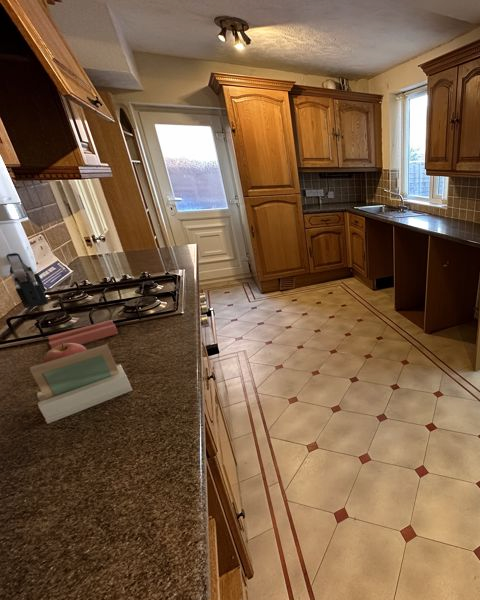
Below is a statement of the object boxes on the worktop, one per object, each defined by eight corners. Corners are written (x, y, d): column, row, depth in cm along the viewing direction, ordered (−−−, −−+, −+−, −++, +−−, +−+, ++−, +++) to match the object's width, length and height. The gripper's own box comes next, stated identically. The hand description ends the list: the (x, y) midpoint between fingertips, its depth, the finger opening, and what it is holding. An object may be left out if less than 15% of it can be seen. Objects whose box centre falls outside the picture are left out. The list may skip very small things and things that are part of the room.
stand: (53, 347, 93) (47, 335, 91) (115, 330, 102) (110, 318, 101) (55, 357, 88) (49, 345, 86) (120, 338, 97) (115, 326, 96)
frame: (51, 406, 68) (29, 367, 65) (122, 380, 77) (106, 343, 73) (51, 410, 67) (29, 370, 63) (123, 383, 76) (108, 346, 72)
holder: (45, 406, 70) (36, 391, 68) (125, 376, 80) (119, 362, 78) (47, 424, 65) (38, 408, 64) (132, 390, 75) (126, 376, 73)
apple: (100, 359, 87) (89, 333, 84) (82, 376, 80) (69, 349, 77) (64, 364, 85) (51, 337, 82) (42, 382, 78) (27, 354, 75)
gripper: (-32, 211, 62) (9, 293, 69) (-43, 221, 52) (7, 317, 58) (25, 208, 67) (58, 284, 74) (25, 216, 57) (65, 305, 63)
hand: (36, 298), depth 66 cm, fingers open, 9 cm apart
